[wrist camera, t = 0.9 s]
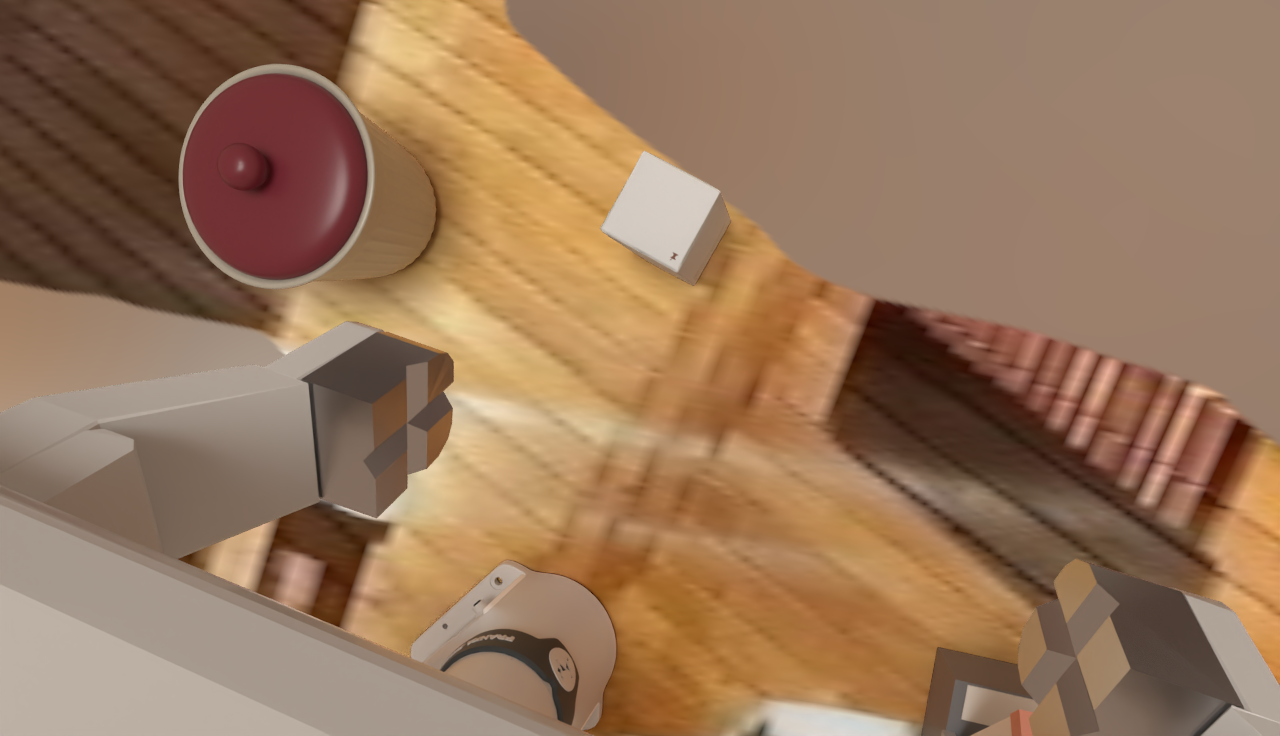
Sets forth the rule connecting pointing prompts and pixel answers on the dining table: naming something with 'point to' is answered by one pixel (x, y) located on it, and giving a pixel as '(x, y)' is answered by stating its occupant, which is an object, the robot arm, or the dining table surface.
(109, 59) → the dining table surface
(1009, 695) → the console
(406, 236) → the canister
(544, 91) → the dining table surface
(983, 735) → the lever
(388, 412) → the robot arm
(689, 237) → the supplement box
